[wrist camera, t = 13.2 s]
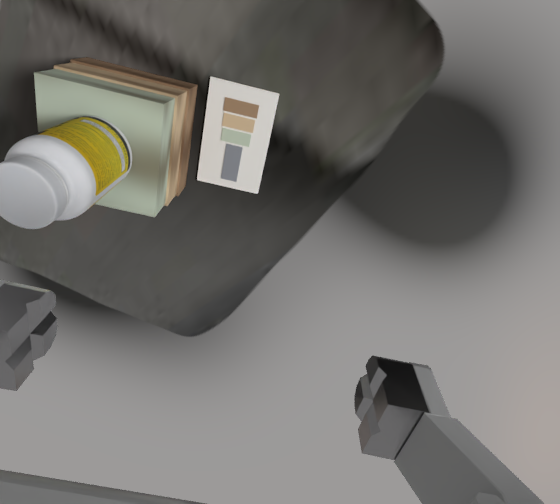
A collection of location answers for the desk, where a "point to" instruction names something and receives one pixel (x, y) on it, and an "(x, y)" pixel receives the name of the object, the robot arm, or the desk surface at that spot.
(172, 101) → the brick tower
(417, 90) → the desk surface
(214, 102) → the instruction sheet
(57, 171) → the supplement bottle
